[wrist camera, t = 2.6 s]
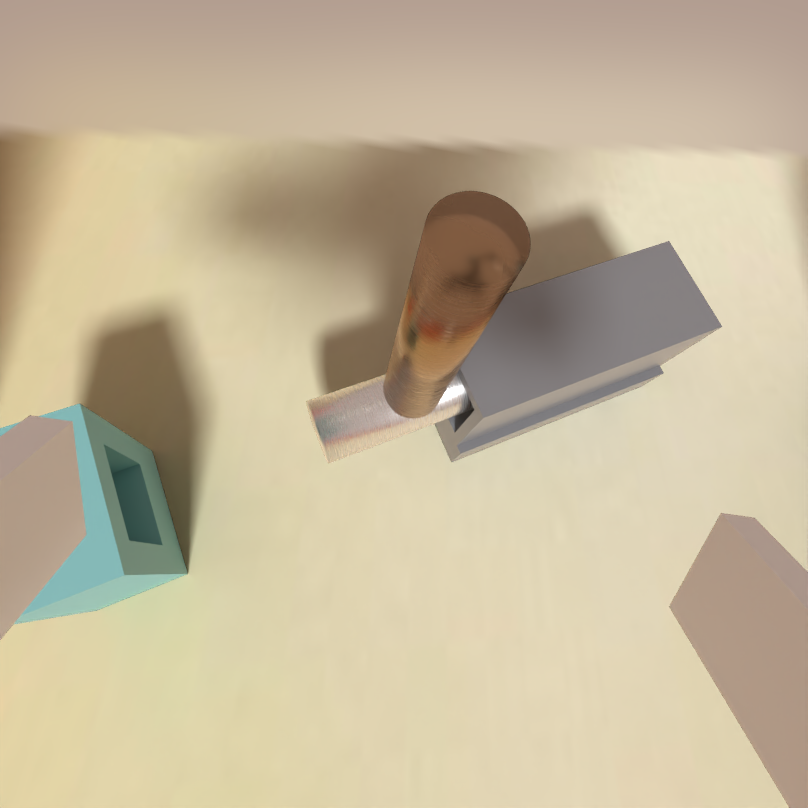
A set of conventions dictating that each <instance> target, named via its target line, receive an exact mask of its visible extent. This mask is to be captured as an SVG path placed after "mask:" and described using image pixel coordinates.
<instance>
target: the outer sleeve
mask: <svg viewBox="0 0 808 808" xmlns="http://www.w3.org/2000/svg"><path fill="white" fill-rule="evenodd" d="M721 327H722V325H721V324H720V322H719V321H718V319H717V317H716V316H715V314H714V313H713V311H712V309H711V308H710V306H709V305H708V303H707V301H706V300H705V298H704V296H703V295H702V293H701V292H700V290H699V288H698V287H697V285H696V284H695V282H694V280H693V279H692V277H691V276H690V274H689V272H688V271H687V269H686V267H685V266H684V264H683V263H682V261H681V259H680V258H679V256H678V255H677V253H676V251H675V250H674V248H673V247H672V245H671V243H670V242H669V241H668V242H665V243H662V244H659V245H655V246H652V247H649V248H646V249H643V250H640V251H637V252H634V253H631V254H628V255H624V256H621V257H618V258H615V259H612V260H609V261H606V262H603V263H600V264H597V265H594V266H590V267H587V268H584V269H581V270H578V271H575V272H572V273H569V274H566V275H563V276H560V277H556V278H553V279H550V280H547V281H544V282H541V283H538V284H535V285H532V286H529V287H526V288H522V289H519V290H516V291H513V292H510V293H507V294H506V295H505V297H504V298H503V300H502V301H501V303H500V305H499V306H498V308H497V310H496V311H495V313H494V314H493V316H492V318H491V319H490V321H489V322H488V324H487V326H486V327H485V329H484V331H483V332H482V334H481V335H480V337H479V339H478V340H477V342H476V343H475V345H474V347H473V348H472V350H471V352H470V353H469V355H468V356H467V358H466V360H465V361H464V363H463V365H462V366H461V368H460V369H459V371H458V375H459V378H460V380H461V382H462V384H463V386H464V388H465V391H466V393H467V395H468V397H469V399H470V401H471V403H472V406H473V408H474V409H472V410H469V411H467V412H464V413H461V414H459V415H456V416H453V417H451V418H448V419H445V420H443V421H440V422H437V423H435V426H436V428H437V431H438V433H439V435H440V437H441V440H442V442H443V444H444V446H445V449H446V451H447V453H448V456H449V458H450V460H451V462H453V461H456V460H458V459H461V458H463V457H466V456H468V455H471V454H473V453H476V452H478V451H481V450H483V449H486V448H488V447H491V446H493V445H496V444H498V443H501V442H503V441H506V440H508V439H511V438H513V437H516V436H518V435H521V434H523V433H526V432H528V431H531V430H533V429H536V428H538V427H541V426H543V425H546V424H548V423H551V422H553V421H556V420H558V419H561V418H563V417H566V416H568V415H571V414H573V413H576V412H578V411H581V410H583V409H586V408H588V407H591V406H593V405H596V404H598V403H601V402H603V401H606V400H608V399H611V398H614V397H616V396H619V395H621V394H624V393H626V392H629V391H631V390H634V389H636V388H639V387H641V386H643V385H645V384H646V383H648V382H650V381H651V380H653V379H655V378H656V377H658V376H660V375H661V374H663V371H662V369H661V368H660V365H662V364H664V363H665V362H667V361H668V360H670V359H672V358H673V357H675V356H676V355H678V354H679V353H681V352H683V351H684V350H686V349H687V348H689V347H691V346H692V345H694V344H695V343H697V342H698V341H700V340H702V339H703V338H705V337H706V336H708V335H710V334H711V333H713V332H714V331H716V330H717V329H719V328H721Z"/></svg>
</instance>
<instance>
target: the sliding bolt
mask: <svg viewBox="0 0 808 808" xmlns="http://www.w3.org/2000/svg"><path fill="white" fill-rule="evenodd" d="M529 252H530V235H529V232H528V228H527V226H526V224H525V222H524V220H523V219H522V217H521V216H520V215H519V213H518V212H517V211H516V210H515V209H514V208H513V207H512V206H510V205H509V204H508V203H506V202H505V201H503V200H502V199H500V198H498V197H496V196H493V195H490V194H487V193H483V192H477V191H464V192H458V193H454V194H451V195H449V196H447V197H445V198H443V199H442V200H440V201H439V202H438V203H437V204H435V205H434V207H433V208H432V209H431V211H430V212H429V214H428V216H427V219H426V222H425V226H424V230H423V234H422V238H421V242H420V245H419V249H418V253H417V257H416V261H415V265H414V269H413V272H412V276H411V280H410V284H409V288H408V292H407V296H406V299H405V303H404V307H403V311H402V315H401V319H400V322H399V326H398V330H397V334H396V338H395V342H394V346H393V349H392V353H391V357H390V361H389V365H388V369H387V373H386V374H384V375H381V376H378V377H375V378H372V379H369V380H366V381H363V382H361V383H358V384H355V385H352V386H349V387H346V388H343V389H340V390H337V391H334V392H331V393H329V394H326V395H323V396H320V397H317V398H314V399H311V400H308V401H306V404H307V408H308V412H309V415H310V418H311V421H312V424H313V427H314V430H315V432H316V435H317V438H318V441H319V443H320V446H321V448H322V451H323V453H324V456H325V458H326V460H327V462H328V463H331V462H334V461H337V460H339V459H342V458H345V457H347V456H350V455H353V454H355V453H358V452H361V451H363V450H366V449H368V448H371V447H374V446H376V445H379V444H382V443H384V442H387V441H390V440H392V439H395V438H398V437H400V436H403V435H406V434H408V433H411V432H414V431H416V430H419V429H422V428H424V427H427V426H430V425H432V424H435V423H437V422H440V421H443V420H445V419H448V418H451V417H453V416H456V415H459V414H461V413H464V412H467V411H469V410H472V409H474V408H473V406H472V403H471V401H470V399H469V397H468V395H467V393H466V391H465V388H464V386H463V384H462V382H461V380H460V378H459V375H458V371H459V369H460V368H461V366H462V365H463V363H464V361H465V360H466V358H467V356H468V355H469V353H470V352H471V350H472V348H473V347H474V345H475V343H476V342H477V340H478V339H479V337H480V335H481V334H482V332H483V331H484V329H485V327H486V326H487V324H488V322H489V321H490V319H491V318H492V316H493V314H494V313H495V311H496V310H497V308H498V306H499V305H500V303H501V301H502V300H503V298H504V297H505V295H506V293H507V292H508V290H509V288H510V287H511V285H512V284H513V282H514V280H515V279H516V277H517V276H518V274H519V272H520V271H521V269H522V267H523V266H524V264H525V263H526V260H527V258H528V256H529Z"/></svg>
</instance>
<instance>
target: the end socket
mask: <svg viewBox="0 0 808 808" xmlns="http://www.w3.org/2000/svg"><path fill="white" fill-rule="evenodd" d="M38 417H45V418H52V419H59V420H66V421H73V429H74V438H75V446H76V454H77V462H78V470H79V478H80V486H81V494H82V502H83V511H84V519H85V527H86V536H85V537H84V538H83V540H82V541H81V542H80V543H79V544H78V546H77V547H76V548H75V549H74V551H73V552H72V553H71V554H70V555H69V557H68V558H67V559H66V560H65V562H64V563H63V564H62V565H61V567H60V568H59V569H58V570H57V571H56V573H55V574H54V575H53V576H52V578H51V579H50V580H49V581H48V582H47V584H46V585H45V586H44V587H43V589H42V590H41V591H40V592H39V593H38V595H37V596H36V597H35V598H34V600H33V601H32V602H31V603H30V604H29V606H28V607H27V608H26V609H25V611H24V612H23V613H22V614H21V616H20V617H19V618H18V619H17V620H16V622H15V623H14V624H18V623H24V622H30V621H36V620H42V619H48V618H54V617H60V616H66V615H72V614H78V613H84V612H90V611H96V610H99V609H102V608H104V607H107V606H109V605H112V604H114V603H116V602H119V601H121V600H124V599H126V598H129V597H131V596H134V595H136V594H139V593H141V592H144V591H146V590H149V589H151V588H154V587H156V586H159V585H161V584H164V583H166V582H169V581H171V580H174V579H176V578H179V577H181V576H184V575H186V574H188V573H187V569H186V566H185V563H184V559H183V556H182V552H181V549H180V545H179V542H178V538H177V535H176V532H175V528H174V525H173V521H172V518H171V514H170V511H169V507H168V504H167V501H166V497H165V494H164V490H163V487H162V483H161V480H160V476H159V473H158V470H157V466H156V463H155V459H154V456H153V452H152V451H151V450H150V449H148V448H147V447H145V446H144V445H142V444H141V443H139V442H138V441H136V440H135V439H133V438H132V437H130V436H129V435H127V434H126V433H124V432H122V431H121V430H119V429H118V428H116V427H115V426H113V425H112V424H110V423H109V422H107V421H106V420H104V419H103V418H101V417H100V416H98V415H97V414H95V413H94V412H92V411H90V410H89V409H87V408H86V407H84V406H83V405H81V404H77V405H74V406H70V407H67V408H64V409H61V410H58V411H54V412H51V413H48V414H45V415H42V416H38ZM19 423H20V422H19ZM19 423H16V424H13V425H9V426H6V427H3V428H0V436H2V435H3V434H5V433H6V432H7V431H9V430H10V429H12V428H13V427H14V426H16V425H17V424H19Z"/></svg>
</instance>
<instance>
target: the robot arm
mask: <svg viewBox="0 0 808 808" xmlns="http://www.w3.org/2000/svg"><path fill="white" fill-rule="evenodd" d="M85 536H86V527H85V519H84V511H83V502H82V494H81V486H80V478H79V470H78V462H77V454H76V446H75V438H74V429H73V421H66V420H59V419H52V418H45V417H38V416H31V415H30V416H28V417H27V418H26V419H24V420H23V421H21V422H20V423H19V424H17V425H16V426H14V427H13V428H12V429H10V430H9V431H7V432H6V433H5V434H3V435H2V436H0V640H1V639H2V638H3V636H4V635H5V634H6V633H7V631H8V630H9V629H10V628H11V627H12V625H13V624H14V623H15V622H16V620H17V619H18V618H19V617H20V616H21V614H22V613H23V612H24V611H25V609H26V608H27V607H28V606H29V604H30V603H31V602H32V601H33V600H34V598H35V597H36V596H37V595H38V593H39V592H40V591H41V590H42V589H43V587H44V586H45V585H46V584H47V582H48V581H49V580H50V579H51V578H52V576H53V575H54V574H55V573H56V571H57V570H58V569H59V568H60V567H61V565H62V564H63V563H64V562H65V560H66V559H67V558H68V557H69V555H70V554H71V553H72V552H73V551H74V549H75V548H76V547H77V546H78V544H79V543H80V542H81V541H82V540H83V538H84V537H85ZM669 607H670V609H671V611H672V612H673V614H674V616H675V617H676V619H677V621H678V622H679V624H680V626H681V627H682V629H683V631H684V632H685V634H686V636H687V637H688V639H689V641H690V642H691V644H692V646H693V647H694V649H695V651H696V652H697V654H698V656H699V657H700V659H701V661H702V662H703V664H704V666H705V667H706V669H707V671H708V672H709V674H710V676H711V677H712V679H713V681H714V682H715V684H716V686H717V687H718V689H719V691H720V693H721V694H722V696H723V698H724V699H725V701H726V703H727V704H728V706H729V708H730V709H731V711H732V713H733V714H734V716H735V718H736V719H737V721H738V723H739V724H740V726H741V728H742V729H743V731H744V733H745V734H746V736H747V738H748V739H749V741H750V743H751V744H752V746H753V748H754V749H755V751H756V753H757V754H758V756H759V758H760V759H761V761H762V763H763V764H764V766H765V768H766V769H767V771H768V773H769V774H770V776H771V778H772V779H773V781H774V783H775V784H776V786H777V788H778V789H779V791H780V793H781V794H782V796H783V798H784V799H785V801H786V803H787V804H788V806H789V808H808V572H807V571H806V570H805V569H804V568H803V567H802V566H801V565H800V564H799V563H798V562H797V561H796V560H795V559H794V558H793V557H792V556H791V555H790V553H789V552H788V551H787V550H786V549H785V548H784V547H783V546H782V545H781V544H780V543H779V542H778V541H777V540H776V539H775V538H774V537H773V536H772V535H771V534H770V533H769V532H768V531H767V530H766V529H765V528H764V527H763V526H762V525H761V524H760V523H759V522H758V521H757V520H756V519H755V518H752V517H745V516H738V515H731V514H724V513H721V514H720V516H719V518H718V519H717V521H716V523H715V525H714V527H713V528H712V530H711V532H710V534H709V536H708V537H707V539H706V541H705V543H704V545H703V546H702V548H701V550H700V552H699V554H698V555H697V557H696V559H695V561H694V563H693V564H692V566H691V568H690V570H689V572H688V574H687V575H686V577H685V579H684V581H683V583H682V584H681V586H680V588H679V590H678V592H677V593H676V595H675V597H674V599H673V601H672V602H671V604H670V606H669Z"/></svg>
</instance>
